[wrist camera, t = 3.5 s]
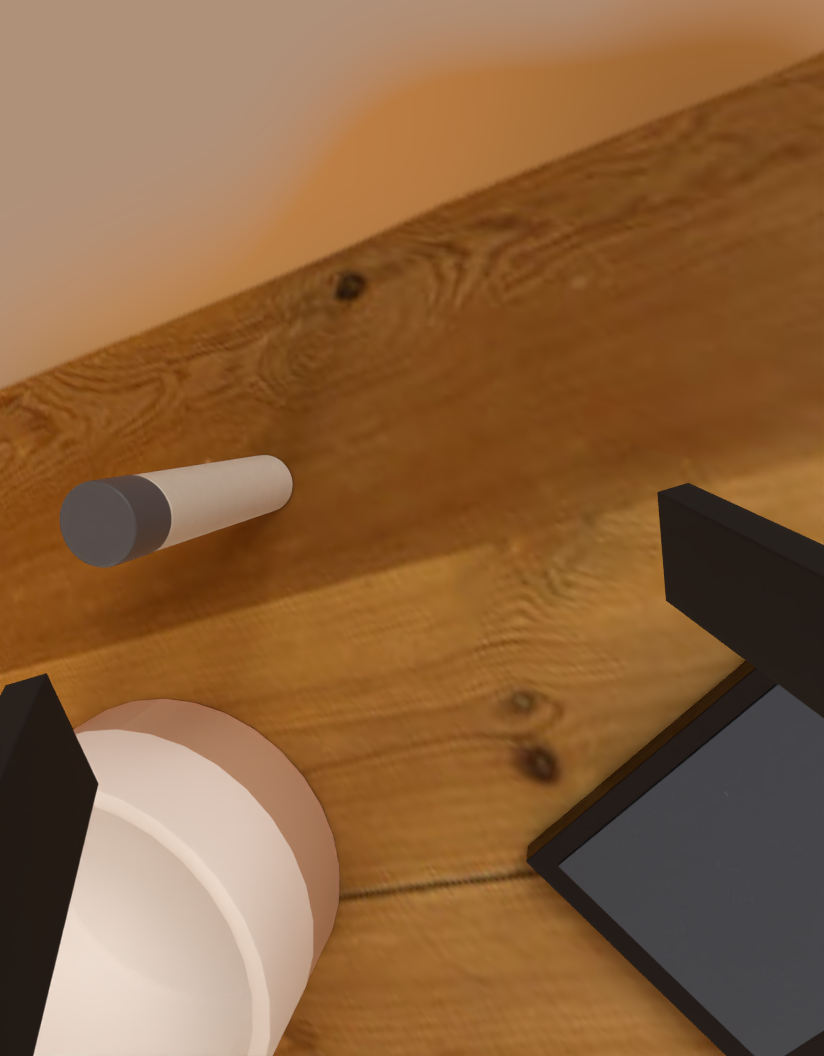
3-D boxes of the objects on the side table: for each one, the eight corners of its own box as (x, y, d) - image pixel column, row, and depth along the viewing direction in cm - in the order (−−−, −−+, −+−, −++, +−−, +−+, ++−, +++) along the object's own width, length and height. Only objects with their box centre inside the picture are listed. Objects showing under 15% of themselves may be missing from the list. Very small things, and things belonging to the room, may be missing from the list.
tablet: (848, 572, 28) (860, 580, 27) (1132, 829, 27) (1158, 849, 26) (527, 845, 33) (525, 863, 32) (758, 1069, 32) (765, 1096, 31)
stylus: (263, 442, 33) (88, 462, 21) (304, 481, 33) (151, 523, 21) (229, 484, 34) (43, 526, 22) (270, 523, 33) (104, 585, 22)
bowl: (200, 632, 35) (85, 699, 27) (411, 917, 35) (359, 1069, 27) (-14, 798, 40) (-164, 896, 32) (171, 1049, 40) (67, 1211, 32)
